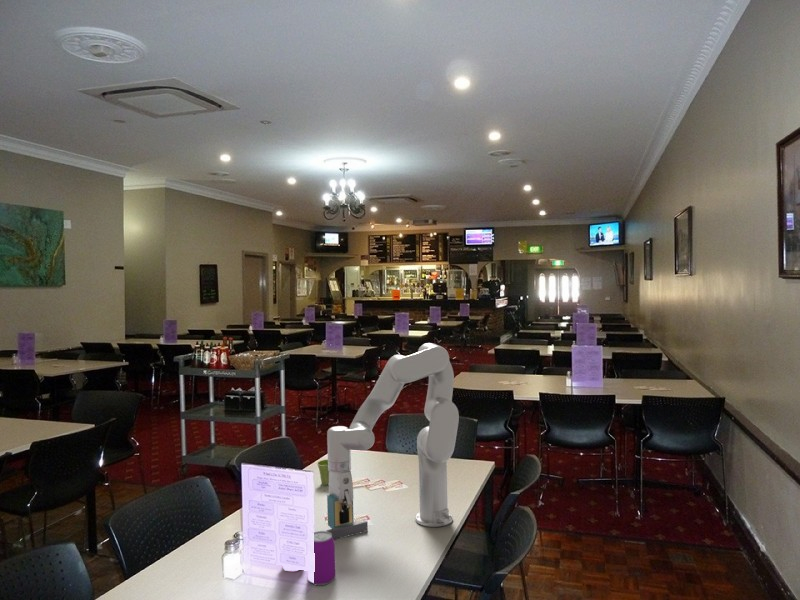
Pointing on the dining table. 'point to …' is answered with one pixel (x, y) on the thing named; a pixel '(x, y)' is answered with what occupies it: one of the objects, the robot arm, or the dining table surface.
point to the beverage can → (324, 557)
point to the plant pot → (324, 471)
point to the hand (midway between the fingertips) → (340, 519)
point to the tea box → (337, 512)
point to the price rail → (348, 529)
